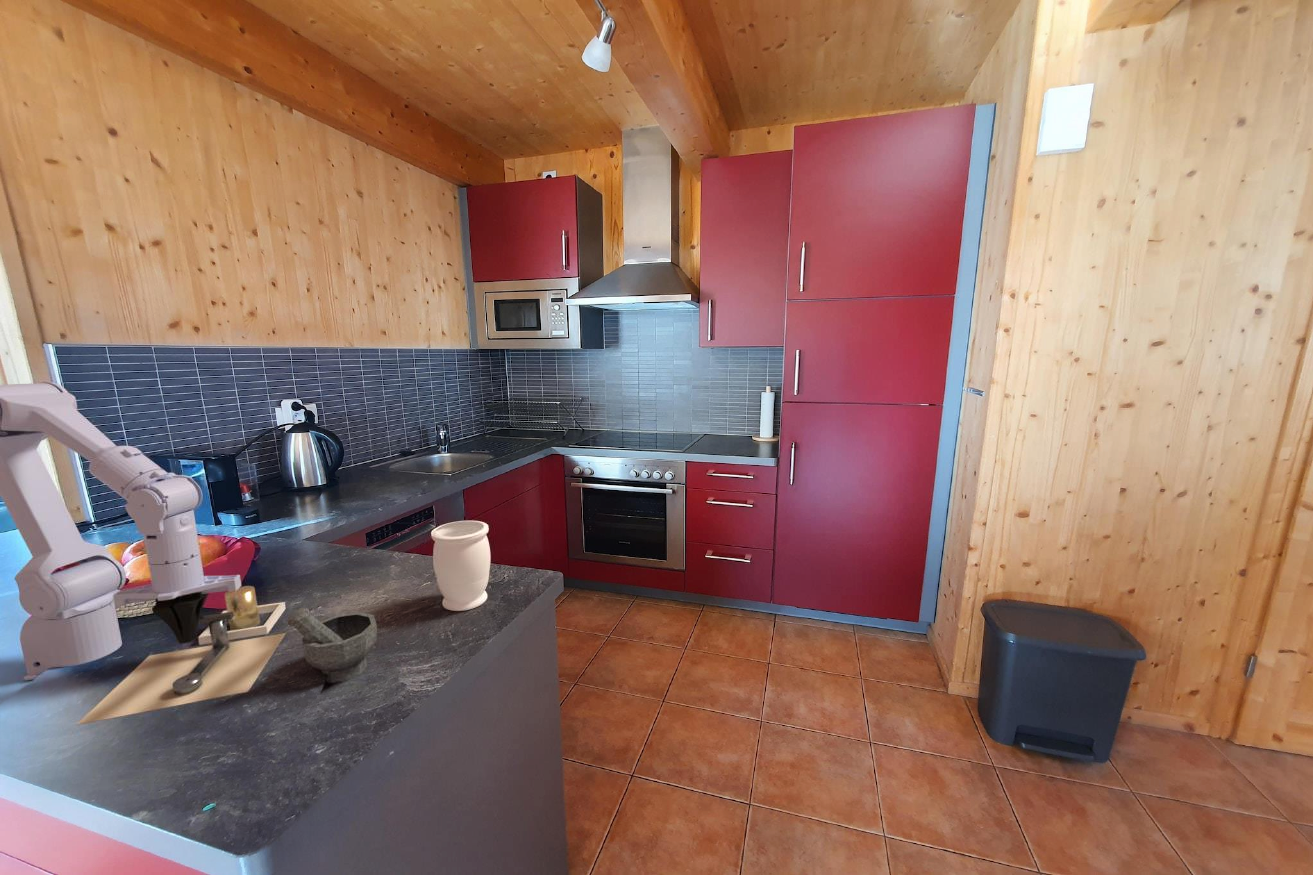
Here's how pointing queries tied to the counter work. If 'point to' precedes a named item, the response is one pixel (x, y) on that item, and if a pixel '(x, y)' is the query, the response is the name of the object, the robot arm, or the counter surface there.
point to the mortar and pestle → (336, 642)
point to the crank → (219, 647)
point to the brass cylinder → (242, 608)
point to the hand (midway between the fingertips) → (188, 639)
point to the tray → (253, 631)
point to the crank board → (159, 671)
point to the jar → (462, 563)
